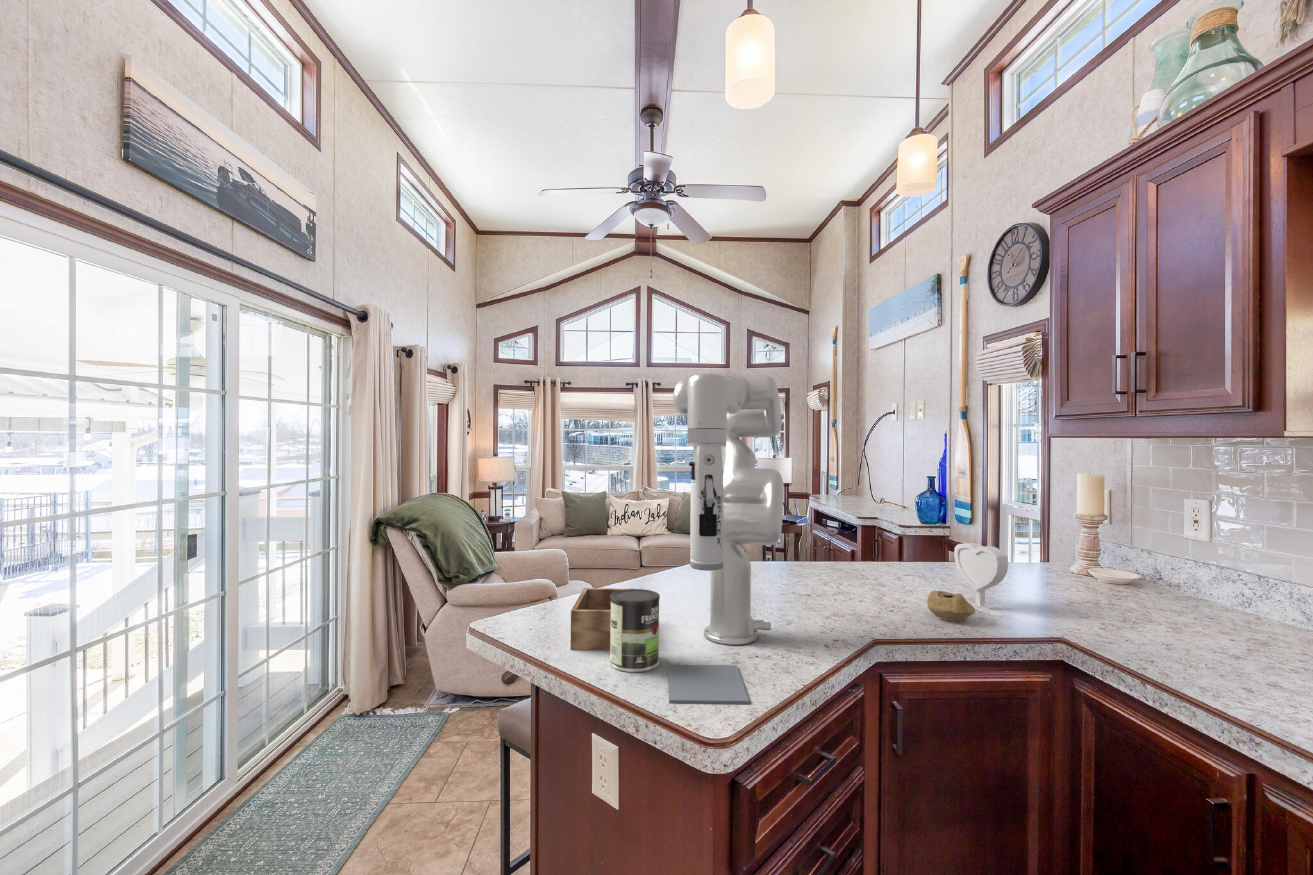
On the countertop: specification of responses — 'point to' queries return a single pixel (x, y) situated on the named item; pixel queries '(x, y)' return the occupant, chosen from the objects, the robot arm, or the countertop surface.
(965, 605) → the oil lamp
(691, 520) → the travel mug
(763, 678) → the countertop surface
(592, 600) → the crate
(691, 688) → the mat
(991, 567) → the heart sculpture
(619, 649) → the coffee can
